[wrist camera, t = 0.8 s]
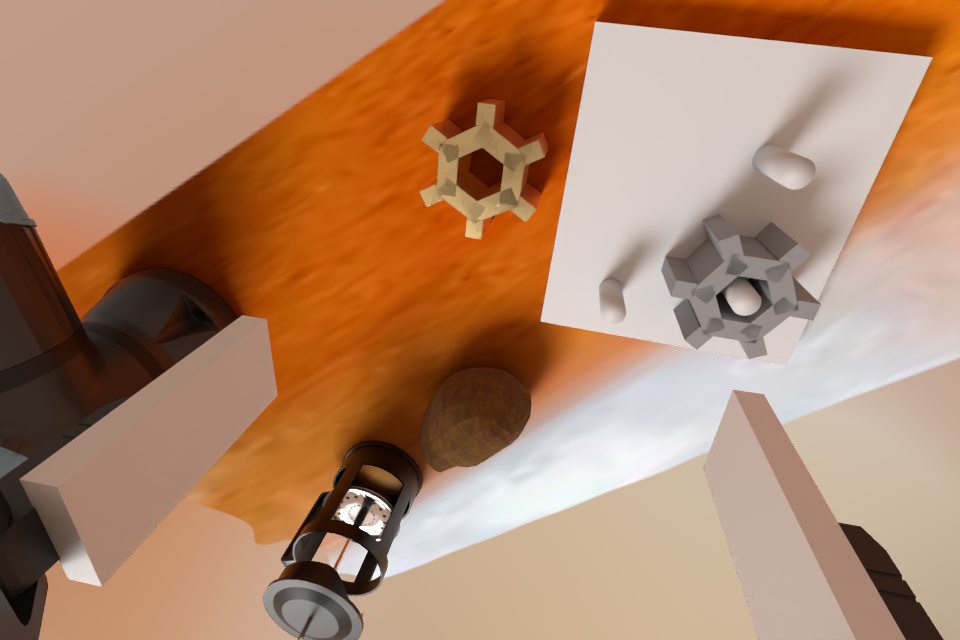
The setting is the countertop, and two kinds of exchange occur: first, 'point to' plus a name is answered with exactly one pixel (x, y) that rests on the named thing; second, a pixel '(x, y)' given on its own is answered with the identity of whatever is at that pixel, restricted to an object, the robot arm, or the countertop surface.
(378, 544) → the french press
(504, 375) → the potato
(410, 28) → the countertop surface
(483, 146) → the brass gear
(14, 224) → the robot arm
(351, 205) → the countertop surface
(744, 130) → the gear board
